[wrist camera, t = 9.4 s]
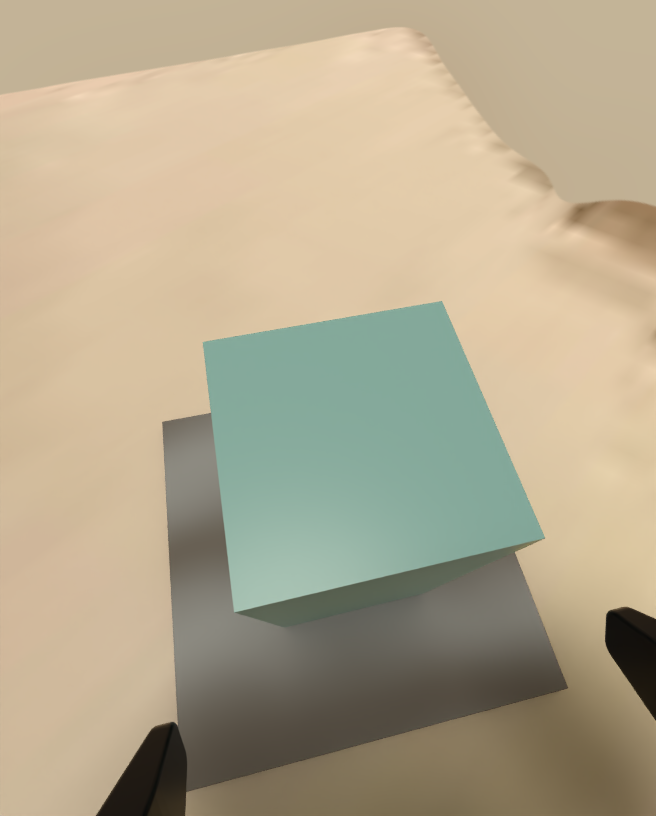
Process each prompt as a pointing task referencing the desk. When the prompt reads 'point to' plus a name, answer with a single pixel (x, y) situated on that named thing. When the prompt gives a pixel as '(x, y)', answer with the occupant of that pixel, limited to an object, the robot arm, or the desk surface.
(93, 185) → the desk surface
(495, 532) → the teal rectangular pillar
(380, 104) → the desk surface
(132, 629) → the desk surface
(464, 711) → the flat grey base tile
